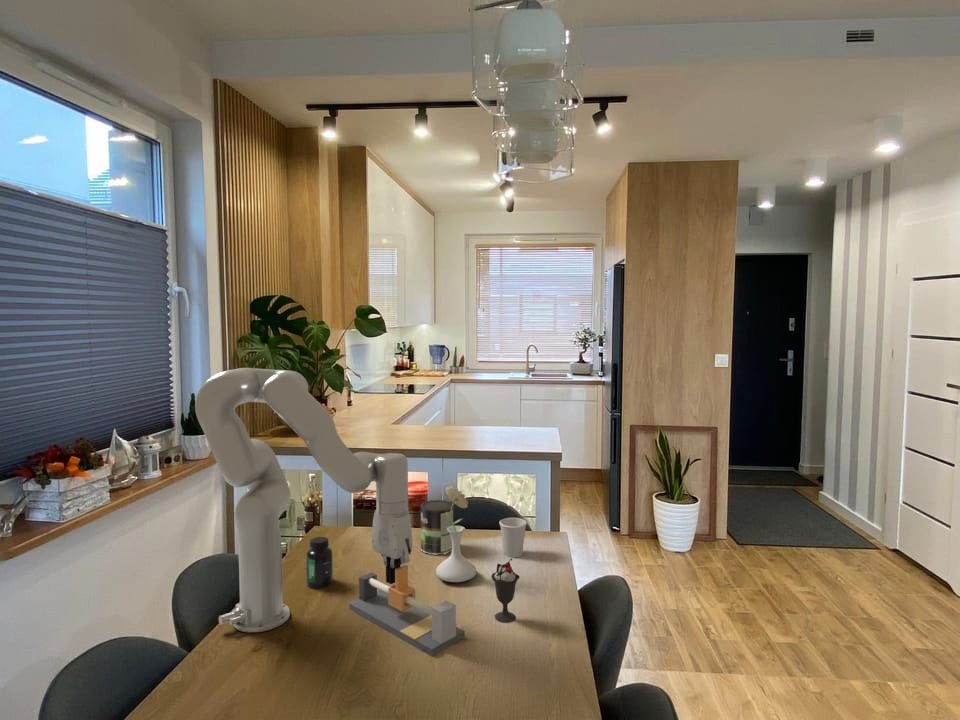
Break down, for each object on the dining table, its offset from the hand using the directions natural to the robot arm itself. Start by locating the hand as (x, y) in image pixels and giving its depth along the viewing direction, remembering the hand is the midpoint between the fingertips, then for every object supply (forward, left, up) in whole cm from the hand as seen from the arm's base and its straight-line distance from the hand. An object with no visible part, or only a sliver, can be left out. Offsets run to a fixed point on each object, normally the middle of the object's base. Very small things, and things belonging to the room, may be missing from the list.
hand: (393, 581), depth 138 cm
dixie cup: (+49, +3, -9) cm, 50 cm away
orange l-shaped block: (0, -3, -5) cm, 6 cm away
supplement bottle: (-2, +29, -9) cm, 30 cm away
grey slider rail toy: (0, -4, -9) cm, 10 cm away
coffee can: (+36, +23, -9) cm, 44 cm away
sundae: (+18, -20, -9) cm, 28 cm away
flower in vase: (+26, +5, -9) cm, 28 cm away
